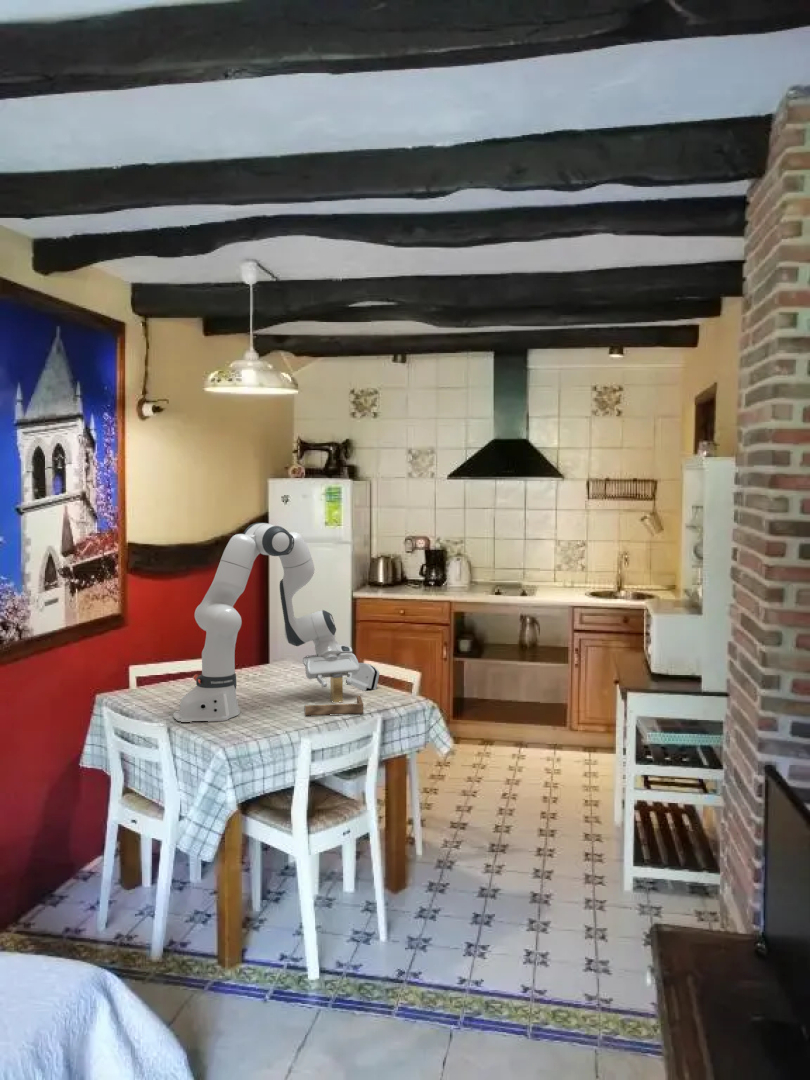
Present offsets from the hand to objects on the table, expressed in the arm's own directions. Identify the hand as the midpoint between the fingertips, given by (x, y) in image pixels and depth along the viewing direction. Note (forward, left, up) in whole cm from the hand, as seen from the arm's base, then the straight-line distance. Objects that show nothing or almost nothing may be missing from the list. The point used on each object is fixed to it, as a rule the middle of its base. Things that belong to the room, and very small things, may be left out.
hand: (337, 685), depth 319 cm
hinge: (+17, +20, -6) cm, 27 cm away
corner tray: (-5, -12, -6) cm, 14 cm away
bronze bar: (0, 0, -6) cm, 6 cm away
